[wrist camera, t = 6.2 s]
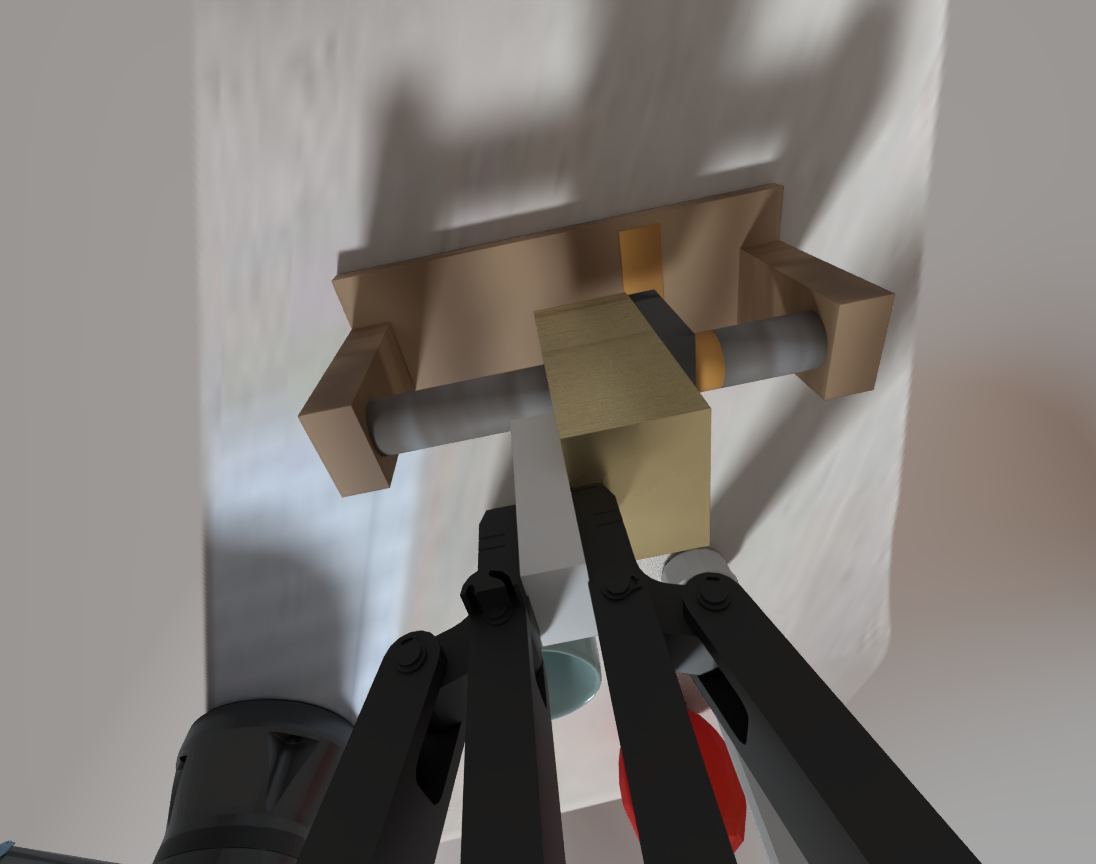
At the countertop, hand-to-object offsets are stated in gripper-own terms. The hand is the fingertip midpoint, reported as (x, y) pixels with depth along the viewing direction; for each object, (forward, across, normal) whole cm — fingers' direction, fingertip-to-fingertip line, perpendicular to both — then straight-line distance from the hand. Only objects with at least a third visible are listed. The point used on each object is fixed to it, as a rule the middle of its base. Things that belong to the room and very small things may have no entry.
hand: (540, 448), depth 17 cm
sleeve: (+6, +3, 0) cm, 7 cm away
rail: (+12, +2, 0) cm, 12 cm away
